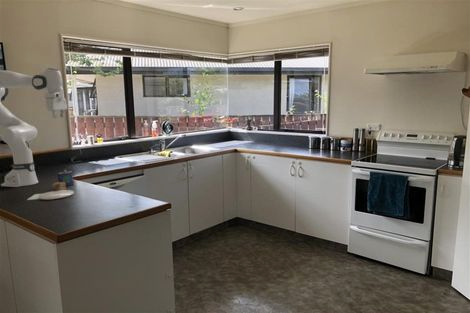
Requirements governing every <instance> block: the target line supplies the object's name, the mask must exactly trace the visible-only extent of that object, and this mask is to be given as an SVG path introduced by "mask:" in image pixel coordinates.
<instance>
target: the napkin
mask: <svg viewBox="0 0 470 313" xmlns="http://www.w3.org/2000/svg"><path fill="white" fill-rule="evenodd" d="M41 194H42V193H34V194H33V195H32V196H29V198H27V199H26V200H27V201H33V200H35V201H36V200H41V199H40V198H39V195H41Z"/></svg>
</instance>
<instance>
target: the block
mask: <svg viewBox="0 0 470 313" xmlns="http://www.w3.org/2000/svg"><path fill="white" fill-rule="evenodd" d="M58 190H67V187H66V183H65V182H58V181H57V182H55V183H53V184H52V191H58Z"/></svg>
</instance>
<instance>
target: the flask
mask: <svg viewBox="0 0 470 313" xmlns="http://www.w3.org/2000/svg"><path fill="white" fill-rule="evenodd" d="M57 182H65V183H66V188H67V187H71V186H74V180H73V171H72V170H70V171H67V169H64V170H63V171H61V172H59V173H57Z"/></svg>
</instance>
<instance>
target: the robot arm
mask: <svg viewBox="0 0 470 313" xmlns="http://www.w3.org/2000/svg"><path fill="white" fill-rule="evenodd" d="M27 87H28V88H29V87H33V88H34V89H35V90H38V91H47V92H46V93H45V94H44V99H45V105H46V109H47V110H48V111H51V114H52V118H53V119H57V118H58V115H57V113H56V112H57V111H60V112H59V113H60V114H59V117H60V118H64V117H65V110H66V111H67V110H68V104H67V99H66V98H65V94H64V93H65V92H64V87H63V77H62V73H61V71H60V70H59V69H57V68H51V67H50V68H49V67H48V68H46V69H45V70H44V71H43V72H41V73H38V74H35V75H34V76H31V75H28V74H25V73H19V72H16V71H12V70H5V69H4V70H0V128H2V130H1V132H0V139H1V140H2V141H3V142H4V143H6V144H7V145H8V147H9V149H10V151H11V152H12V153H11V154H12V159H13V164H11V165H10V168H12V169H11V170H10V171H9V172H8V173H7V174H6V175H4V182H3V183H1V184H0V186H1V187H10V188H11V187H12V188H19V187H24V186H31V185H35V184H38V183H39V180H38V177H37V174H36V170H35V166H36V165H35V162H34V159H33V158H34V157H33V151H32V149H31V148H29V147H28V146H27V144H26V142H29V141H32V140H34V139H36V138H37V136H38V130H37V128H36V127H35V126H34V125H33V124H32V125H31V124H28V123H27V122H25V121H24V120H21V119H20V118H18V117H17V116H15V114H13V113H12V112H11V111H10V110H9V109H8V108H7V107H6V106H5V105H4V104H3V103H2V102H3V101H5V100H6V97H7V96H8V94H9V89H19V88H27Z"/></svg>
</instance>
